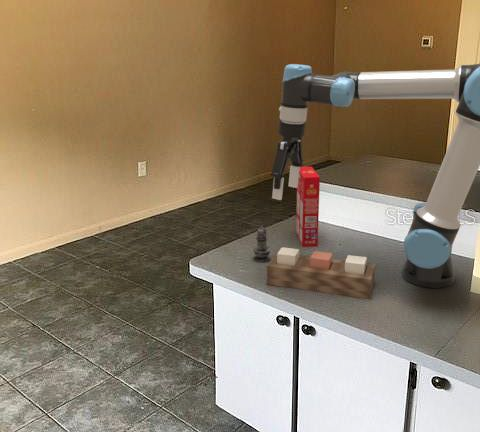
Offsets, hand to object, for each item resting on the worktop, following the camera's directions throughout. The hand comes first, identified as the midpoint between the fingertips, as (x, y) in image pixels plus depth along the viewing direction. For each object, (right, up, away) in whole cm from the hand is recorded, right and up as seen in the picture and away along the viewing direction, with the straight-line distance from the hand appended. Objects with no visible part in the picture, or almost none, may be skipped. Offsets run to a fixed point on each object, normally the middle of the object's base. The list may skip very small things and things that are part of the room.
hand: (285, 192), depth 159 cm
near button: (+20, -23, -4) cm, 31 cm away
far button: (+1, -21, +3) cm, 22 cm away
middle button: (+11, -22, -1) cm, 25 cm away
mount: (+11, -27, +1) cm, 29 cm away
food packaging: (+11, -15, +35) cm, 40 cm away
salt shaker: (-6, -21, +19) cm, 29 cm away
